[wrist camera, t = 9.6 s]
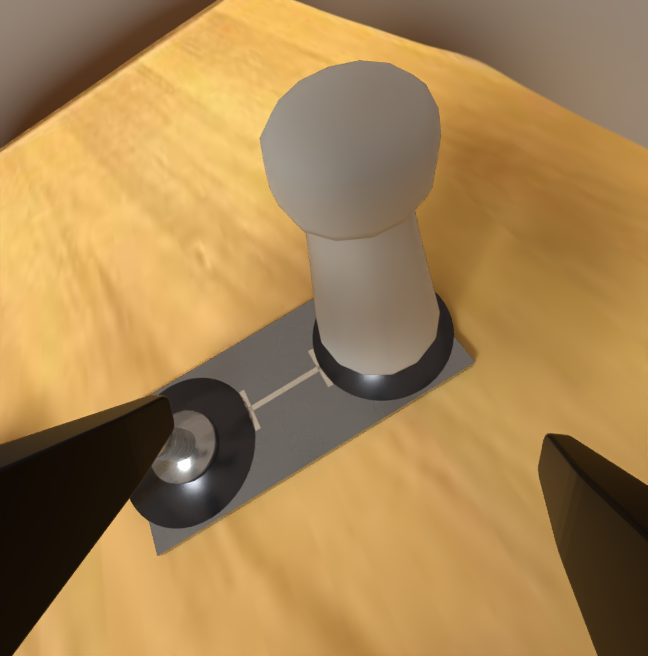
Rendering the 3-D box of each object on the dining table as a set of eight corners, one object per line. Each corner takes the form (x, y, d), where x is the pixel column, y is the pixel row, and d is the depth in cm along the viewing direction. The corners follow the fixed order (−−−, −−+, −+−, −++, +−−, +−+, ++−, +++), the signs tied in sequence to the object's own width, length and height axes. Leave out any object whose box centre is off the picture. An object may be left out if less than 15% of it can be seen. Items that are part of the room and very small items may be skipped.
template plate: (150, 562, 17) (142, 565, 17) (117, 420, 21) (110, 418, 20) (486, 357, 18) (488, 353, 18) (398, 254, 22) (398, 248, 21)
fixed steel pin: (167, 497, 18) (88, 499, 13) (149, 434, 20) (74, 417, 15) (229, 460, 18) (171, 450, 14) (206, 400, 20) (148, 374, 15)
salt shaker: (319, 304, 21) (211, 68, 9) (415, 277, 20) (429, -9, 9) (339, 400, 18) (223, 239, 7) (450, 373, 18) (538, 145, 6)
